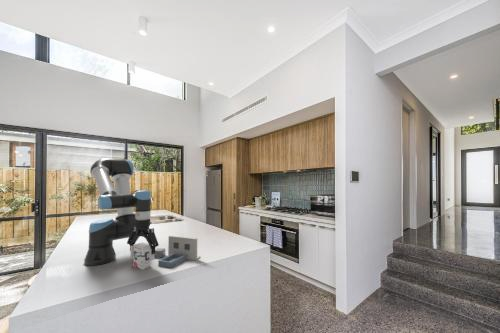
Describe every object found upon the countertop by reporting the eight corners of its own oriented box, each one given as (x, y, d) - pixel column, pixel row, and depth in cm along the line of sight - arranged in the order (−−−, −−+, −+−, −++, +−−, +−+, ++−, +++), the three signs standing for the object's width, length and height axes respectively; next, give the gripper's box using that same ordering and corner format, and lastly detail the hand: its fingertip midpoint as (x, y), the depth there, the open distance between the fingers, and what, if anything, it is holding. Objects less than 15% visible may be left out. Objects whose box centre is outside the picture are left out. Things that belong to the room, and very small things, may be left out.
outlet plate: (167, 256, 133) (167, 236, 134) (173, 253, 138) (173, 234, 139) (195, 260, 126) (195, 239, 127) (200, 257, 131) (200, 237, 132)
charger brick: (153, 257, 132) (153, 250, 132) (157, 254, 137) (157, 248, 137) (162, 257, 131) (162, 251, 132) (166, 255, 136) (166, 248, 137)
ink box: (132, 266, 118) (133, 244, 119) (141, 263, 122) (141, 242, 123) (142, 269, 114) (143, 246, 115) (151, 266, 118) (151, 244, 119)
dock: (158, 265, 119) (158, 260, 119) (174, 258, 131) (174, 253, 131) (170, 268, 116) (170, 262, 116) (186, 259, 127) (186, 254, 128)
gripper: (120, 218, 121) (119, 258, 119) (155, 221, 112) (154, 264, 110) (132, 216, 128) (131, 253, 126) (165, 218, 119) (165, 258, 117)
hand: (142, 258), depth 118 cm, fingers open, 13 cm apart
